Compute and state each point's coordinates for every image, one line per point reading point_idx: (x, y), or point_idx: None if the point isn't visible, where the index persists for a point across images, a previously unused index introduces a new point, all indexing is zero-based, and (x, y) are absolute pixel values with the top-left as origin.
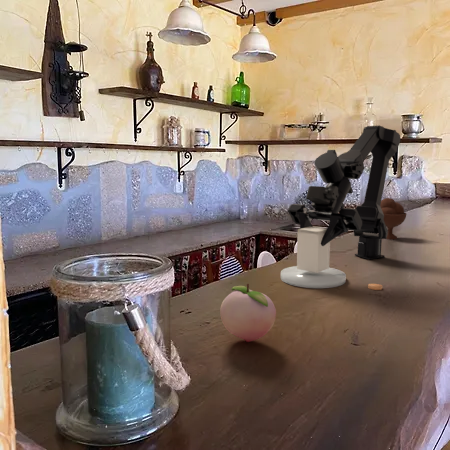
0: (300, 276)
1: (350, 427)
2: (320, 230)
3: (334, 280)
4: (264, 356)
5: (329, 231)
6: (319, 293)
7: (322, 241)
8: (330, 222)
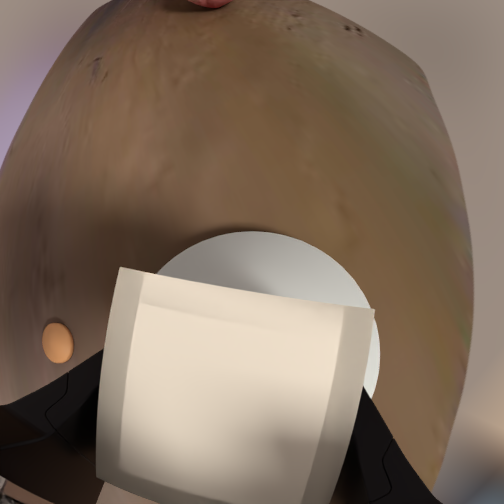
0: (274, 287)
1: (113, 3)
2: (123, 353)
3: None
4: (186, 4)
5: (66, 374)
6: (174, 208)
7: None
8: (25, 433)
